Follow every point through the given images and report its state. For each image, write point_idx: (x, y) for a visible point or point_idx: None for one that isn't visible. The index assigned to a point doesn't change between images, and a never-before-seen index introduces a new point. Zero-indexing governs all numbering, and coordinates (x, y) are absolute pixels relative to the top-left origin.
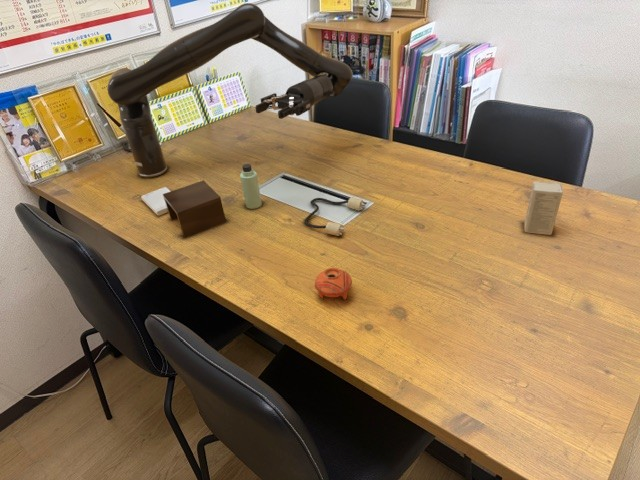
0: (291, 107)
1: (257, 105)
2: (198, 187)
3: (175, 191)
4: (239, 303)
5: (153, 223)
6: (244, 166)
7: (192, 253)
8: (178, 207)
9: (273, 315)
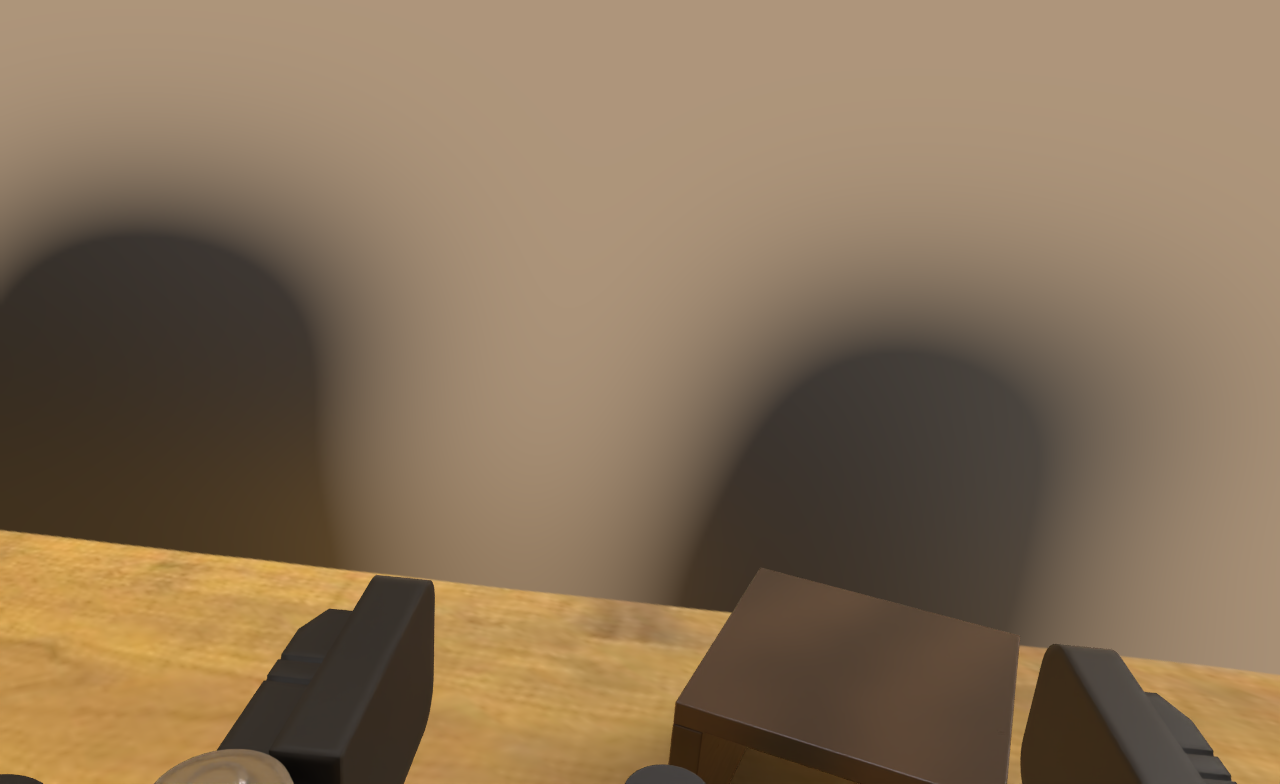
0: (181, 779)
1: (1085, 655)
2: (922, 731)
3: (992, 667)
4: (229, 558)
5: None
6: (674, 778)
7: (605, 655)
8: (797, 588)
9: (73, 555)
